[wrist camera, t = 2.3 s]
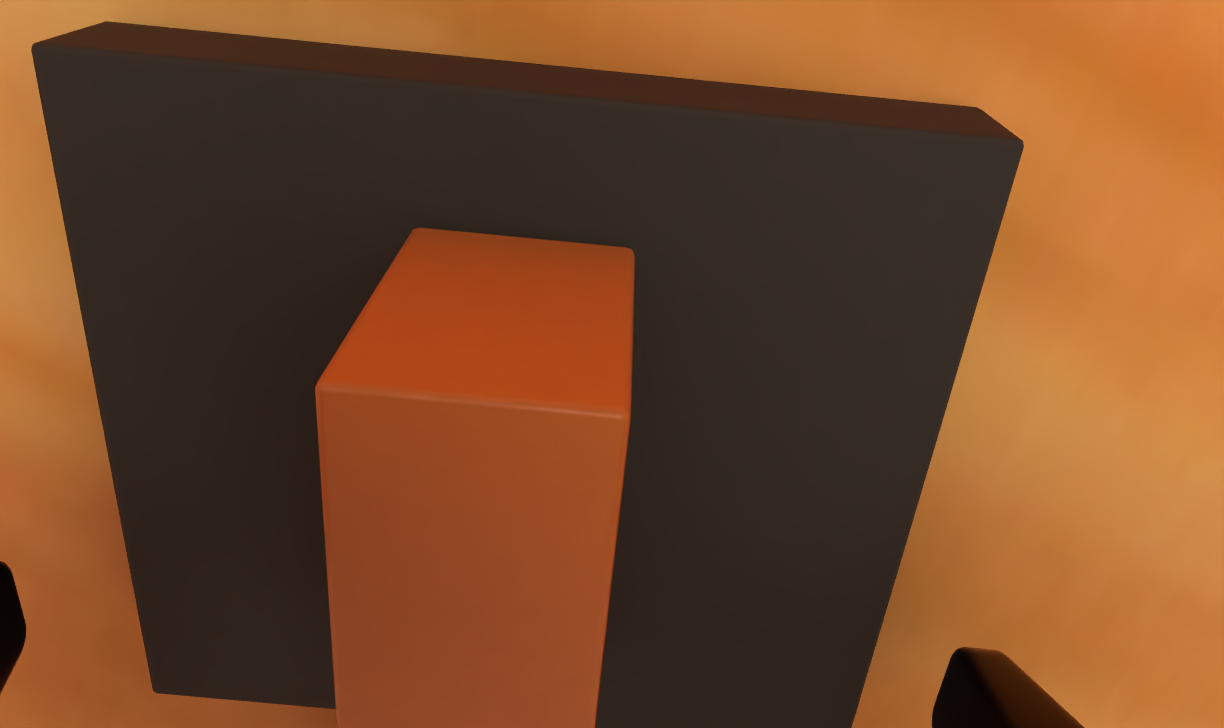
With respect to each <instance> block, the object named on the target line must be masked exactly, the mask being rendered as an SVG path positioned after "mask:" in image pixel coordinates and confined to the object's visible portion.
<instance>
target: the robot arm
mask: <svg viewBox="0 0 1224 728" xmlns="http://www.w3.org/2000/svg"><path fill="white" fill-rule="evenodd" d="M25 638H26V623H25V619H24V615H23V611H22V608H21V604H20V600H19V596H18V593H17V589H16V585H15V581H14V578H13V574H12V571H11V569H10V568H9V567H8V565H7V564H6V563H4V562H1V561H0V694H1V692H2V690H3V688H4V686H5V684H6V682H7V680H8V678H9V676H10V674H11V672H12V670H13V668H14V666H15V664H16V662H17V660H18V658H19V656H20V654H21V652H22V649H23V646H24V643H25ZM932 728H1084V727H1083V726H1082V725H1081V724H1080V723H1079V722H1078V721H1077V720H1076V719H1075V718H1074V717H1072V716H1071V715H1070V714H1069V713H1068V712H1067V711H1066V710H1065V709H1064V708H1063V707H1062V706H1061V705H1059V704H1058V703H1057V702H1056V701H1055V700H1054V699H1053V698H1052V697H1051V696H1050V695H1049V694H1048V693H1046V692H1045V691H1044V690H1043V689H1042V688H1041V687H1040V686H1039V685H1038V684H1037V683H1036V682H1035V681H1034V680H1032V679H1031V678H1030V677H1029V676H1028V675H1027V674H1026V673H1025V672H1024V671H1023V670H1022V669H1021V668H1019V667H1018V666H1017V665H1016V664H1015V663H1014V662H1013V661H1012V660H1011V659H1010V658H1009V657H1007V656H1006V655H1005V654H1003V653H1002V652H1000V651H996V650H990V649H979V648H968V647H962V648H959V649H957V650H956V651H955V652H954V653H953V655H952V657H951V659H950V661H949V664H948V667H947V670H946V673H945V676H944V679H943V681H942V684H941V687H940V690H939V693H938V696H937V699H936V702H935V705H934V708H933V714H932Z"/></svg>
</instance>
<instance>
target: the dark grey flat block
mask: <svg viewBox="0 0 1224 728" xmlns="http://www.w3.org/2000/svg"><path fill="white" fill-rule="evenodd" d="M31 51H32V56H33V61H34V66H35V72H36V77H37V82H38V87H39V93H40V98H41V103H42V109H43V114H44V119H45V124H46V130H47V135H48V140H49V145H50V151H51V156H52V161H53V167H54V172H55V177H56V182H57V188H58V193H59V198H60V203H61V209H62V214H63V219H64V225H65V230H66V235H67V240H68V246H69V251H70V256H71V261H72V267H73V272H74V277H75V283H76V288H77V293H78V298H79V304H80V309H81V314H82V319H83V325H84V330H85V335H86V341H87V346H88V351H89V356H90V362H91V367H92V372H93V377H94V383H95V388H96V393H97V399H98V404H99V409H100V414H101V420H102V425H103V430H104V435H105V441H106V446H107V451H108V457H109V462H110V467H111V472H112V478H113V483H114V488H115V493H116V499H117V504H118V509H119V515H120V520H121V525H122V530H123V536H124V541H125V546H126V551H127V557H128V562H129V567H130V573H131V578H132V583H133V588H134V594H135V599H136V604H137V609H138V615H139V620H140V625H141V631H142V636H143V641H144V646H145V652H146V657H147V662H148V667H149V673H150V678H151V683H152V688H153V691H154V692H156V693H160V694H171V695H183V696H194V697H205V698H217V699H228V700H239V701H250V702H262V703H273V704H284V705H296V706H307V707H318V708H329V709H336V718H337V728H851V727H852V724H853V720H854V717H855V714H856V710H857V707H858V704H859V700H860V697H861V693H862V690H863V687H864V683H865V680H866V677H867V673H868V670H869V666H870V663H871V660H872V656H873V653H874V650H875V646H876V643H877V640H878V636H879V633H880V629H881V626H882V623H883V619H884V616H885V613H886V609H887V606H888V602H889V599H890V596H891V592H892V589H893V586H894V582H895V579H896V575H897V572H898V569H899V565H900V562H901V559H902V555H903V552H904V548H905V545H906V542H907V538H908V535H909V532H910V528H911V525H912V521H913V518H914V515H915V511H916V508H917V505H918V501H919V498H920V495H921V491H922V488H923V484H924V481H925V478H926V474H927V471H928V468H929V464H930V461H931V457H932V454H933V451H934V447H935V444H936V441H937V437H938V434H939V430H940V427H941V424H942V420H943V417H944V414H945V410H946V407H947V403H948V400H949V397H950V393H951V390H952V387H953V383H954V380H955V376H956V373H957V370H958V366H959V363H960V360H961V356H962V353H963V350H964V346H965V343H966V339H967V336H968V333H969V329H970V326H971V323H972V319H973V316H974V312H975V309H976V306H977V302H978V299H979V296H980V292H981V289H982V285H983V282H984V279H985V275H986V272H987V269H988V265H989V262H990V258H991V255H992V252H993V248H994V245H995V242H996V238H997V235H998V231H999V228H1000V225H1001V221H1002V218H1003V215H1004V211H1005V208H1006V205H1007V201H1008V198H1009V194H1010V191H1011V188H1012V184H1013V181H1014V178H1015V174H1016V171H1017V167H1018V164H1019V161H1020V157H1021V154H1022V151H1023V147H1024V145H1023V141H1022V140H1021V139H1019V138H1018V137H1017V136H1015V135H1014V134H1013V133H1012V132H1010V131H1009V130H1008V129H1006V128H1005V127H1004V126H1002V125H1001V124H1000V123H998V122H997V121H996V120H994V119H993V118H992V117H990V116H989V115H988V114H986V113H985V112H984V111H982V110H981V109H979V108H977V107H967V106H957V105H947V104H936V103H926V102H916V101H906V100H896V99H886V98H876V97H866V96H855V95H845V94H835V93H825V92H815V91H805V90H795V89H785V88H774V87H764V86H754V85H744V84H734V83H724V82H714V81H704V80H693V79H683V78H673V77H663V76H653V75H643V74H633V73H623V72H612V71H602V70H592V69H582V68H572V67H562V66H552V65H542V64H531V63H521V62H511V61H501V60H491V59H481V58H471V57H461V56H450V55H440V54H430V53H420V52H410V51H400V50H390V49H380V48H369V47H359V46H349V45H339V44H329V43H319V42H309V41H299V40H288V39H278V38H268V37H258V36H248V35H238V34H228V33H218V32H207V31H197V30H187V29H177V28H167V27H157V26H147V25H137V24H126V23H116V22H103V23H100V24H96V25H93V26H90V27H86V28H83V29H80V30H77V31H73V32H70V33H67V34H63V35H60V36H57V37H54V38H50V39H47V40H44V41H40V42H37V43H34V44H33V45H32V50H31Z"/></svg>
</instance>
